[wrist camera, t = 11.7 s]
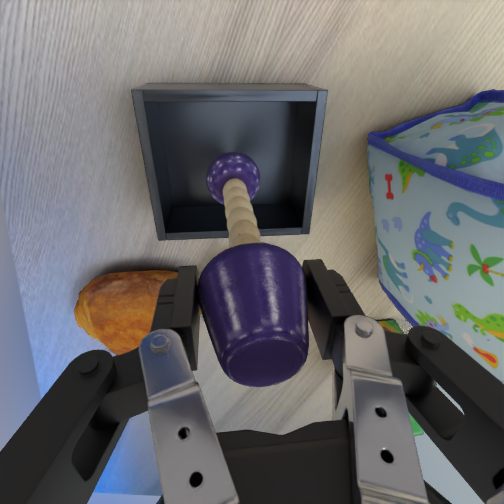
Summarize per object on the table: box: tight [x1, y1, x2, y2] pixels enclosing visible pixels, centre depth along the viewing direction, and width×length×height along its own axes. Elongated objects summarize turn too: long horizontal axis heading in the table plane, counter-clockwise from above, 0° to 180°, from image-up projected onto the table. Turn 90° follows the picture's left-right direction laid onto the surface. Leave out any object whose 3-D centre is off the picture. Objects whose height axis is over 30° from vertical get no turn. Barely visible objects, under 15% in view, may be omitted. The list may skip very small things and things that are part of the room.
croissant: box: [74, 270, 202, 355], centre depth 39 cm, size 14×16×8 cm
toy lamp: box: [197, 152, 309, 387], centre depth 17 cm, size 5×5×17 cm
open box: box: [131, 83, 328, 241], centre depth 29 cm, size 15×13×7 cm
